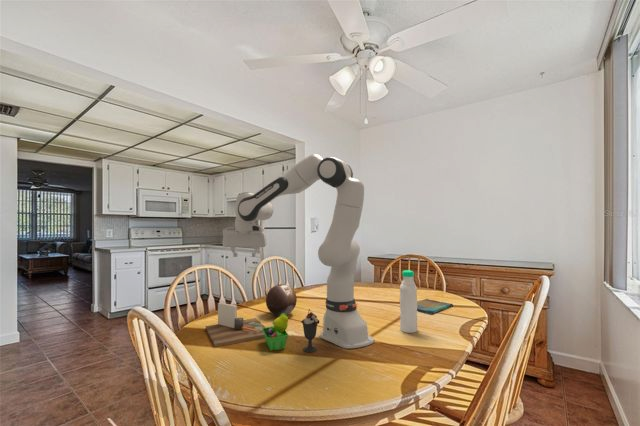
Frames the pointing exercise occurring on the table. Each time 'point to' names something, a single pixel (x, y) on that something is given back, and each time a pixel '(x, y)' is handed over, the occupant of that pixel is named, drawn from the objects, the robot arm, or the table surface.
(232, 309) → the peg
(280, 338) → the fruit basket
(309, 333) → the sundae
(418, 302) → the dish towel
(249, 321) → the wooden board
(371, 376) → the table surface
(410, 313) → the water bottle
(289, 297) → the wooden sphere
